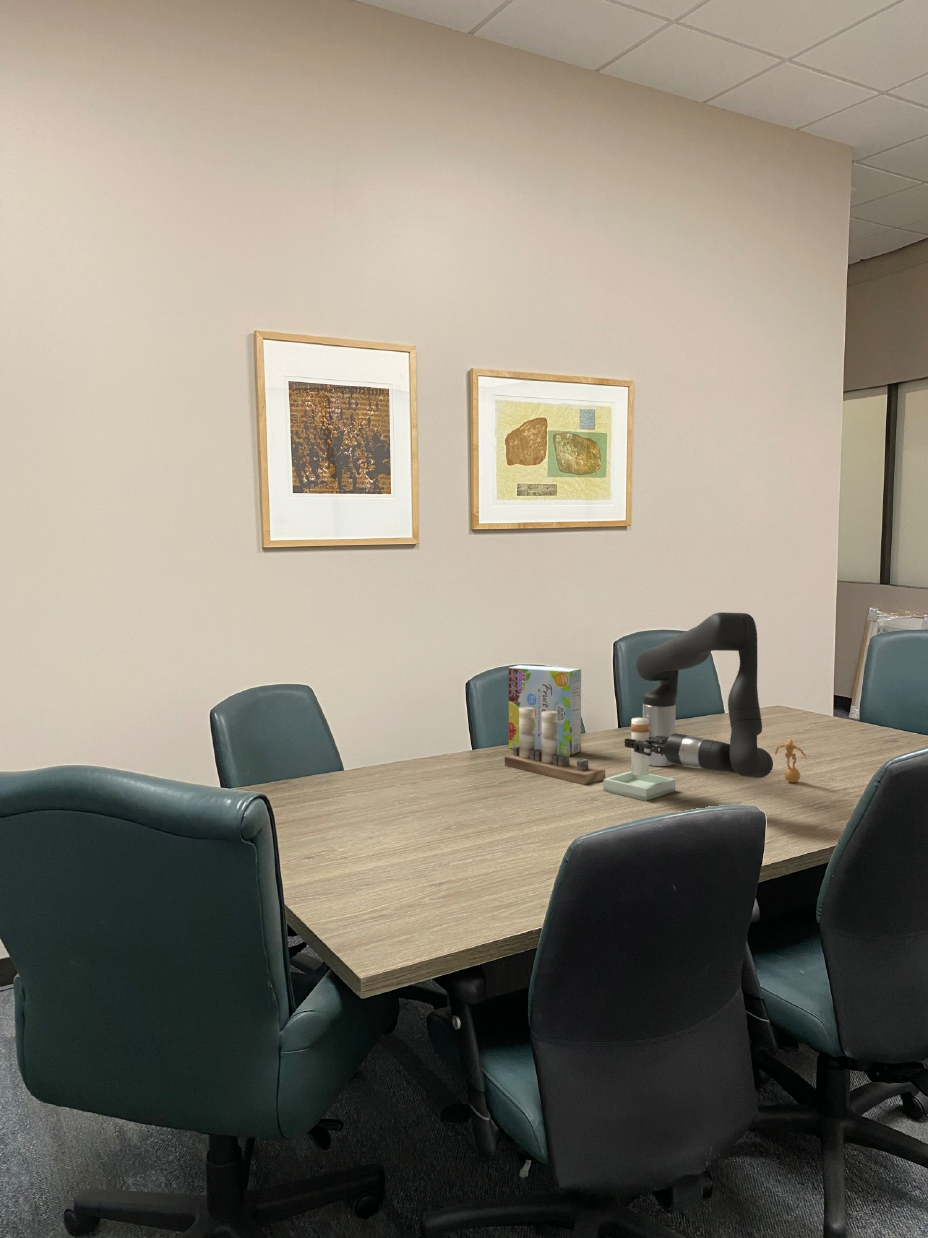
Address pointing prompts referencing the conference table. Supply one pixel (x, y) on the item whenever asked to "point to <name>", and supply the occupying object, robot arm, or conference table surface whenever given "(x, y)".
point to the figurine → (792, 773)
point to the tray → (639, 785)
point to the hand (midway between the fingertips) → (631, 741)
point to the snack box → (547, 703)
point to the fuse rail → (557, 770)
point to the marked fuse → (637, 760)
